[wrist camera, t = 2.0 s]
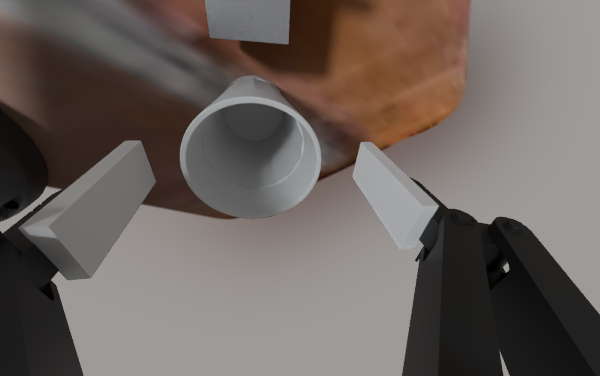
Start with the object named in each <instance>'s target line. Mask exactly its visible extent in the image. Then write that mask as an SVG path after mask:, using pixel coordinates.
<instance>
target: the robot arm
mask: <svg viewBox="0 0 600 376" xmlns="http://www.w3.org/2000/svg"><path fill="white" fill-rule="evenodd" d="M352 178H353V179H354V181H355V182H356V184H357V185H358V187H359V188H360V190H361V191H362V193H363V194H364V196H365V197H366V199H367V200H368V202H369V203H370V205H371V206H372V208H373V209H374V211H375V212H376V214H377V215H378V217H379V218H380V220H381V221H382V223H383V224H384V226H385V227H386V229H387V230H388V232H389V233H390V235H391V236H392V238H393V239H394V241H395V242H396V244H397V245H398V247H399V248H400V249H411V248H415V246H416V244H417V242H418V241H419V240H420V241H421V242H422V243H423V245H424V247H423V248H422V250H421V251H420V253H419V255H418V256H417V258H416V260H415V261H418V260H419V259H420V260H419V268H418V274H417V280H416V287H415V294H414V300H413V307H412V314H411V320H410V327H409V333H408V340H407V347H406V353H405V361H404V367H403V373H402V376H503V371H502V364H501V359H500V352H501V354H502V357H503V360H504V362H505V365H506V367H507V370H508V372H509V375H510V376H600V314H599V313H598V312H597V311H596V310H595V308H594V307H593V306H592V305H591V303H590V302H589V301H588V300H587V299H586V297H585V296H584V295H583V294H582V293H581V291H580V290H579V289H578V288H577V286H576V285H575V284H574V283H573V282H572V280H571V279H570V278H569V277H568V276H567V274H566V273H565V272H564V270H563V269H562V268H561V267H560V266H559V264H558V263H557V262H556V261H555V260H554V258H553V257H552V256H551V255H550V253H549V252H548V251H547V250H546V248H545V247H544V246H543V245H542V244H541V242H540V241H539V240H538V239H537V238H536V236H535V235H534V234H533V233H532V231H531V230H529V229H528V228H527V227H526V226H524V225H523V224H522V223H520V222H518V221H516V220H514V219H510V218H506V217H497V218H496V219H495V220H494V221H493V222H492V224H491V225H490V224H484V223H478V222H477V220H475V219H474V218H473V217H472V216H470V215H469V214H467V213H465V212H463V211H461V210H457V209H448V208H447V207H446V206H445V205H444V204H443V203H441V202H440V201H439V200H438V199H437V198H436V197H435V196H434V195H433V194H431V193H430V192H429V191H428V190H427V189H425V187H424V186H423V185H422V184H421V183H419V182H418V181H416V180H414V179H413V178H410V177H408V176H407V175H406V174H405V173H404V172H403V171H402V170H401V169H400V168H399V167H398V166H397V165H395V164H394V163H393V162H392V161H391V160H390V159H389V158H388V157H387V156H386V155H385V154H384V153H383V152H382V151H381V150H380V149H378V148H377V147H376V146H375V145H374V144H373V143H372V142H361V144H360V148H359V152H358V156H357V160H356V164H355V168H354V171H353V175H352ZM155 183H156V180H155V177H154V175H153V172H152V169H151V167H150V164H149V161H148V158H147V156H146V153H145V150H144V148H143V145H142V142H141V141H126V140H125V141H124V142H123V143H122V144H120V145H119V146H118V147H117V148H116V149H114V150H113V151H112V152H111V153H109V154H108V155H107V156H106V157H105V158H103V159H102V160H101V161H100V162H98V163H97V164H96V165H95V166H93V167H92V168H91V169H90V170H89V171H87V172H86V173H85V174H84V175H82V176H81V177H80V178H79V179H78V180H76V181H75V182H74V183H73V184H71V185H70V186H69V187H66V188H64V189H62V190H60V191H58V192H56V193H54V194H52V195H51V196H50V197H48V198H47V199H46V200H45V201H43V202H42V204H40V205H38V206H37V207H36V208H35V209H33V212H29V213H28V214H27V215H26V216H24V217H23V218H22V219H21V220H19V221H18V222H17V223H16V224H14V225H13V226H12V227H10V228H9V229H8V230H7V231H5V232H4V233H2V232H1V231H0V376H83V372H82V369H81V366H80V362H79V359H78V356H77V353H76V349H75V346H74V343H73V339H72V336H71V333H70V330H69V326H68V323H67V320H66V316H65V313H64V310H63V306H62V303H61V300H60V296H59V293H58V290H57V286H56V285H55V284H54V283H53V282H52V281H51V279H52V278H53V277H54V276H55V274H56V273H57V272H58V271H59V272H60V273H61V274H62V275H63V276H64V277H65V278H66V279H67V280H75V279H86V278H91V277H92V276H93V274H94V273H95V271H96V270H97V268H98V267H99V266H100V264H101V263H102V261H103V260H104V258H105V257H106V255H107V254H108V252H109V251H110V249H111V248H112V246H113V245H114V243H115V242H116V240H117V239H118V238H119V236H120V235H121V233H122V232H123V230H124V229H125V227H126V226H127V224H128V222H129V221H130V220H131V218H132V217H133V215H134V214H135V212H136V211H137V209H138V208H139V206H140V205H141V204H142V202H143V201H144V199H145V198H146V196H147V195H148V193H149V192H150V190H151V189H152V187H153V186H154V184H155ZM46 184H47V170H46V166H45V163H44V161H43V159H42V157H41V155H40V153H39V151H38V150H37V148H36V147H35V145H34V144H33V143H32V141H31V140H30V139H29V138H28V136H27V135H26V134H25V133H24V132H23V131H22V130H21V129H20V128H19V127H18V126H17V125H16V124H15V123H14V122H13V121H11V120H10V119H9V118H8V117H7V116H5V115H4V114H3V113H2V112H1V111H0V222H1V221H4V220H6V219H8V218H11V217H12V216H14V215H16V214H18V213H19V212H21V211H22V210H23V209H25V208H26V207H27V206H29V205H30V204H31V203H33V202H34V201H35V200H36V199H38V198H39V197H40V196H41V194H42V193H43V191H44V190H45V187H46ZM507 262H508V264H509V271H508V272H507V273H506V272H505V270H504V269H503V266H504V265H505V264H506V263H507ZM499 350H500V352H499Z"/></svg>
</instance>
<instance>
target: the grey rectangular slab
mask: <svg viewBox="0 0 600 376" xmlns="http://www.w3.org/2000/svg"><path fill="white" fill-rule="evenodd" d="M205 5H206V13H207V20H208V27H209V35H210V38H220V39H231V40H243V41H254V42H266V43H277V44H289V20H290V0H205Z"/></svg>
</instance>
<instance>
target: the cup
mask: <svg viewBox="0 0 600 376" xmlns="http://www.w3.org/2000/svg"><path fill="white" fill-rule="evenodd" d="M321 161H322V157H321V149H320V144H319V141H318V139H317V136H316V134H315V132H314V131H313V129H312V127H311V126H310V125H309V123H308V122H307V121H306V120H305V119H304V118H303V117H302V116H301V115H300V114H299V113H298V112H297V111H296V110H295V109H294V108H293V107H292V106H291V105H290V104H289V103H288V102H287V101H286V100H285V98H284V97H283V96H282V95H281V93H280V92H279V90H278V89H277V87H276V86H275V85H274V84H273V83H271V82H270V81H269V80H267V79H265V78H263V77H260V76H255V75H247V76H242V77H239V78H237V79H235V80H234V81H233V82H231V83H230V84H229V85H228V87H227V88H226V90H225V91H224V92H223V93H222V94H221V95H220V96H219V97H218V98H217V99H216V100H215V101H214V102H213V103H211V104H210V105H209V106H208V107H207V108H206V109H205V110H203V111H202V112H201V113H200V114H199V115H198V116H197V117H196V118H195V119H194V120H193V121H192V122H191V124H190V125H189V127H188V128H187V130H186V132H185V134H184V136H183V139H182V143H181V147H180V164H181V169H182V173H183V175H184V178H185V180H186V182H187V184H188V185H189V187H190V188H191V190H192V191H193V192H194V193H195V194H196V196H197V197H198V198H200V199H201V200H202V201H203V202H204V203H206V204H207V205H208V206H210V207H212V208H213V209H215V210H217V211H219V212H222V213H224V214H227V215H230V216H234V217H240V218H251V219H253V218H254V219H255V218H265V217H271V216H274V215H278V214H280V213H283V212H285V211H287V210H289V209H291V208H293V207H294V206H296V205H297V204H299V203H300V202H301V201H302V200H303V199H304V198H305V197H306V196H307V195H308V194H309V193H310V192H311V190H312V189H313V187H314V185H315V184H316V182H317V179H318V177H319V174H320V169H321Z"/></svg>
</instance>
